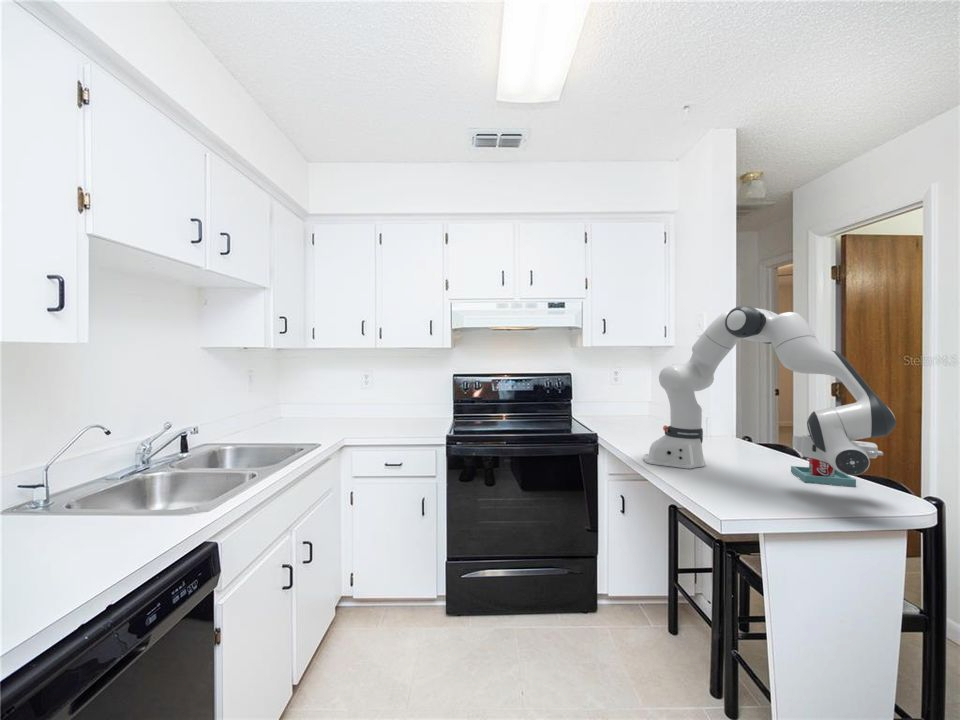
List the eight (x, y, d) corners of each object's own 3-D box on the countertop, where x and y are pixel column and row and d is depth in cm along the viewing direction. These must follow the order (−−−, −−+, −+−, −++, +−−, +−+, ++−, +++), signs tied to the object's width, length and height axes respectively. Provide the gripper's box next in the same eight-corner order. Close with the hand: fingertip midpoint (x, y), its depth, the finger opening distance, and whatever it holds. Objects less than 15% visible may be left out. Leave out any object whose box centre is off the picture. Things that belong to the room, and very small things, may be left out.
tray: (805, 482, 146) (805, 475, 146) (790, 472, 158) (791, 465, 158) (855, 487, 142) (856, 479, 142) (837, 476, 154) (837, 469, 154)
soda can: (840, 479, 147) (841, 444, 147) (822, 480, 146) (822, 444, 146) (821, 473, 154) (822, 440, 154) (803, 474, 153) (804, 440, 153)
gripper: (886, 444, 122) (871, 435, 134) (796, 435, 132) (790, 427, 144) (884, 466, 122) (870, 455, 134) (795, 455, 132) (789, 446, 144)
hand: (828, 441), depth 139 cm, fingers open, 8 cm apart
